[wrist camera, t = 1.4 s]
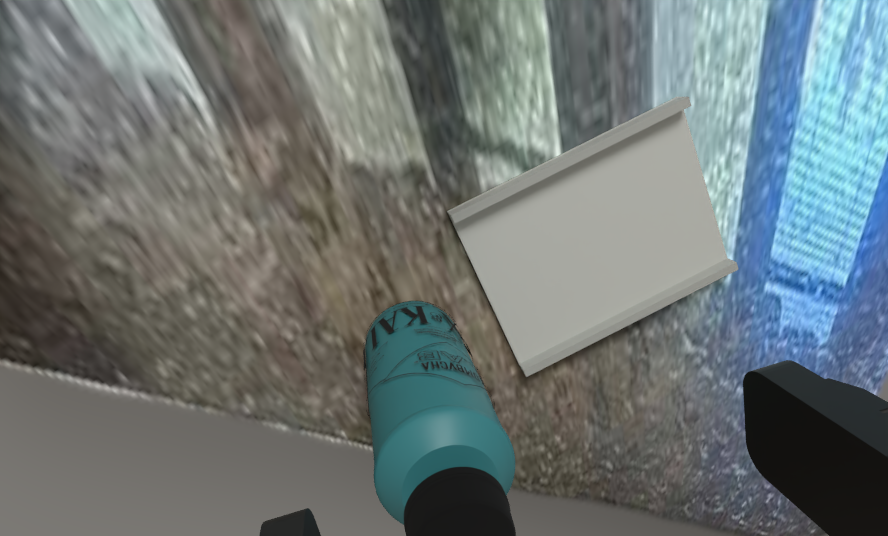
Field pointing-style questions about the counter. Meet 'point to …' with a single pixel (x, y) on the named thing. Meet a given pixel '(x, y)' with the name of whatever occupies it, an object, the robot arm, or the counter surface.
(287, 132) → the counter surface
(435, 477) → the beverage bottle
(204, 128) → the counter surface
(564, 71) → the counter surface
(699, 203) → the panel with raised edges
